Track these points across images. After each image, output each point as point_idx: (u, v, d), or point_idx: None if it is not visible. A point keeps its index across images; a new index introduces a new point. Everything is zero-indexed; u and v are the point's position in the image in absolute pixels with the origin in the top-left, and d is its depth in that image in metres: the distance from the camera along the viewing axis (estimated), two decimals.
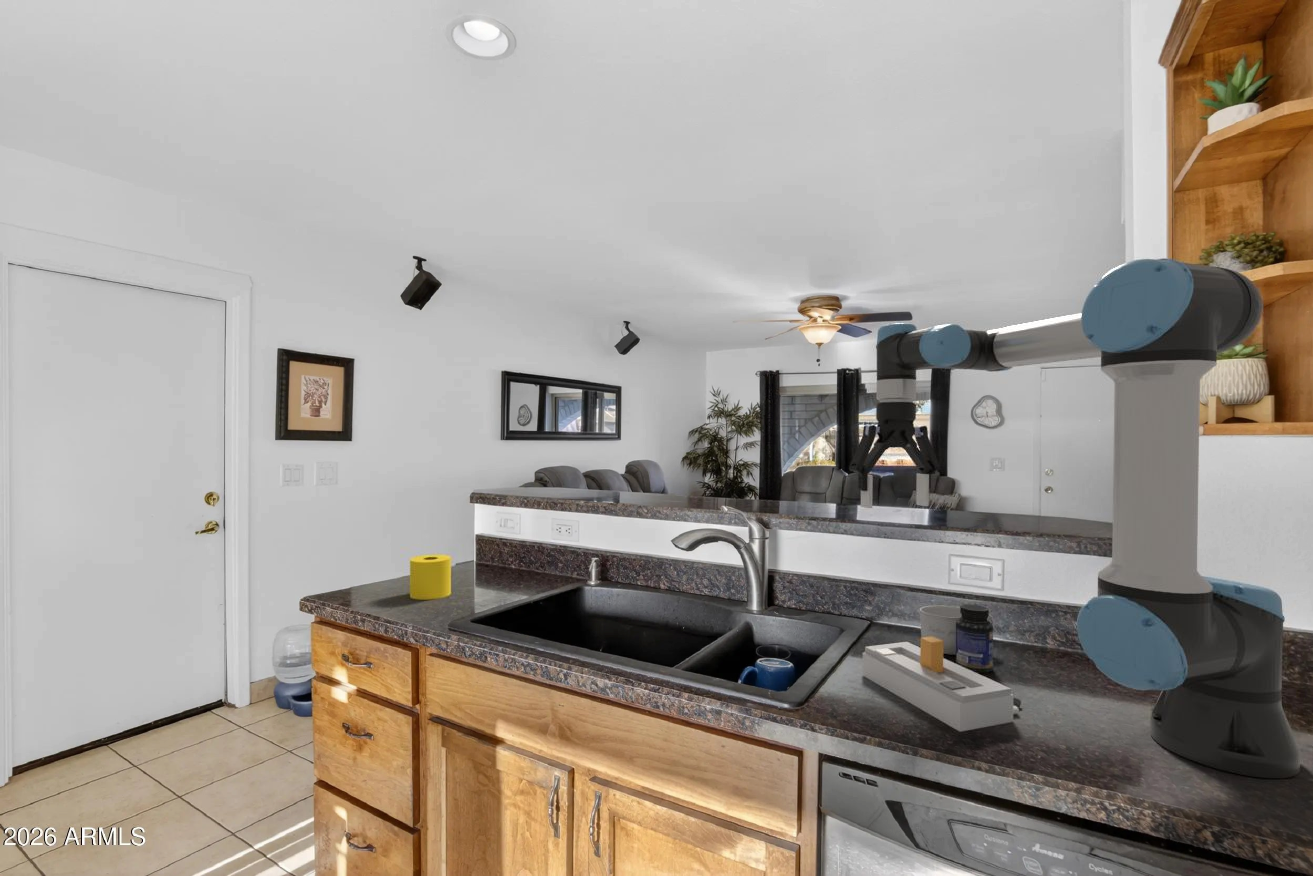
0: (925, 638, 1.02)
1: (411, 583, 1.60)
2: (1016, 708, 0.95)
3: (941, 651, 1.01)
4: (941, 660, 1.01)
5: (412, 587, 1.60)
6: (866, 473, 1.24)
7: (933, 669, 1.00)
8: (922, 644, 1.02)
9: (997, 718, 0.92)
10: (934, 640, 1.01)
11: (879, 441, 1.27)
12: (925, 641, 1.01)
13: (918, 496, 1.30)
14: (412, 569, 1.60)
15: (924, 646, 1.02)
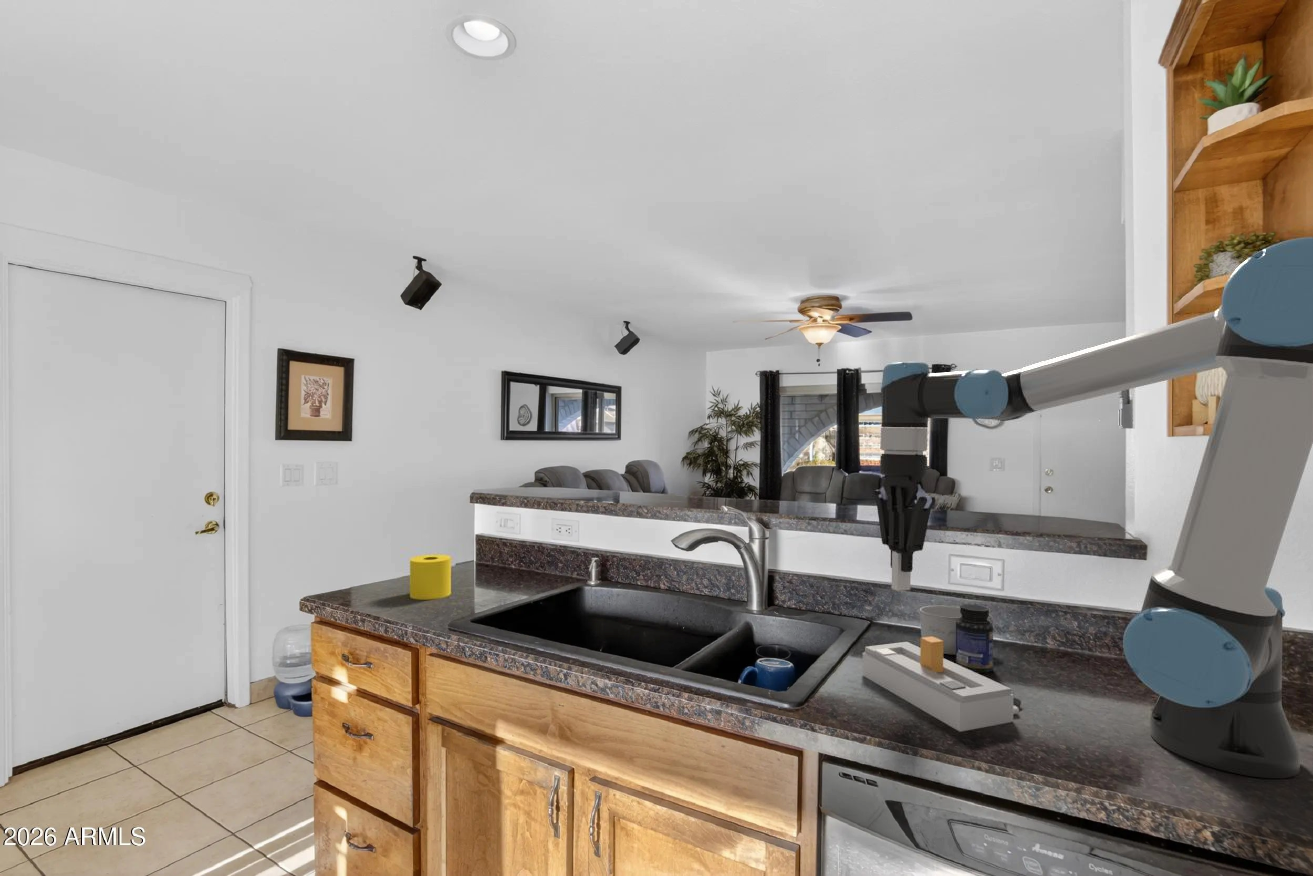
0: (925, 638, 1.02)
1: (411, 583, 1.60)
2: (1016, 708, 0.95)
3: (941, 651, 1.01)
4: (941, 660, 1.01)
5: (412, 587, 1.60)
6: (891, 548, 1.09)
7: (933, 669, 1.00)
8: (922, 644, 1.02)
9: (997, 718, 0.92)
10: (934, 640, 1.01)
11: None
12: (925, 641, 1.01)
13: None
14: (412, 569, 1.60)
15: (924, 646, 1.02)
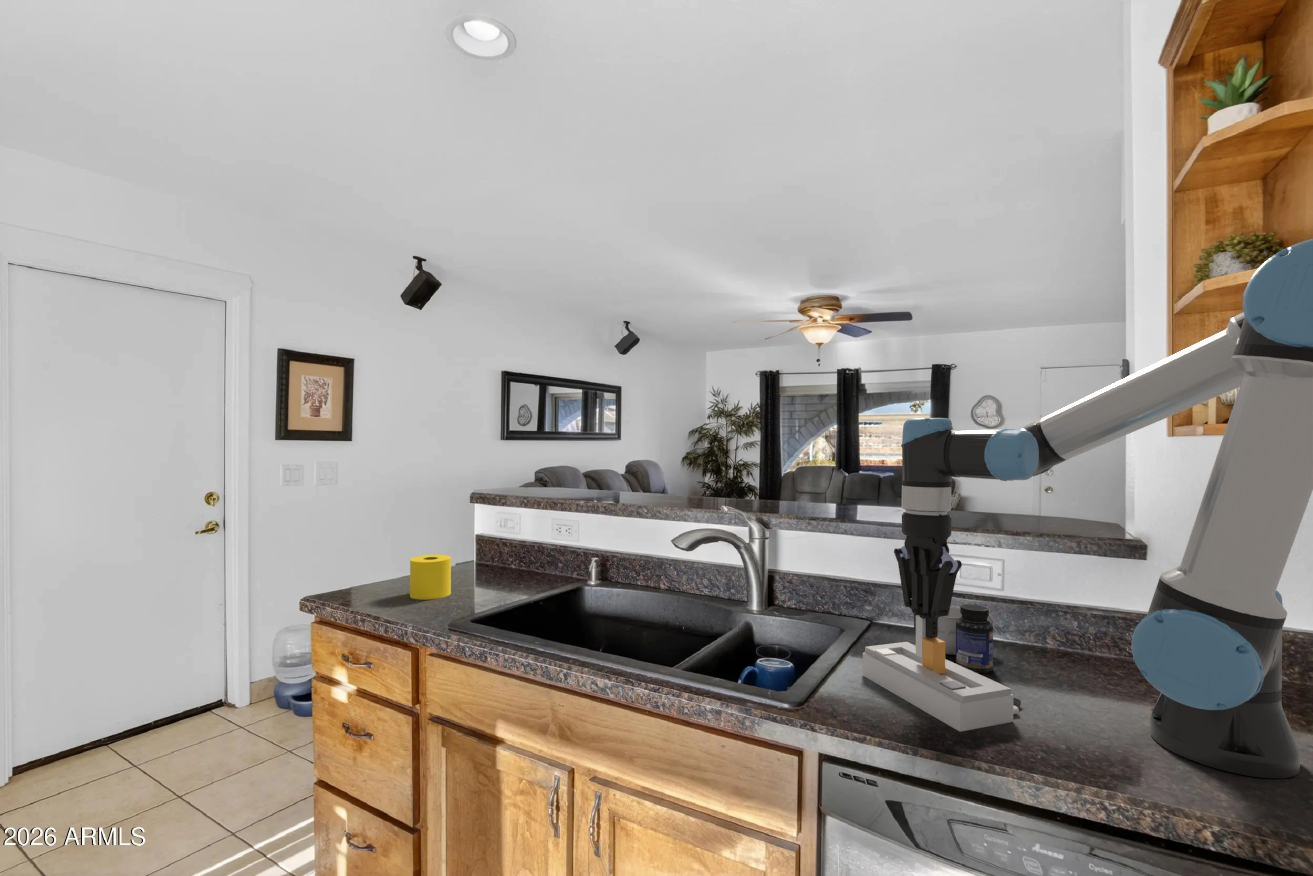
0: (927, 639, 1.02)
1: (411, 583, 1.60)
2: (1016, 708, 0.95)
3: (943, 652, 1.01)
4: (943, 661, 1.01)
5: (412, 587, 1.60)
6: (914, 612, 1.04)
7: (935, 670, 1.00)
8: (924, 645, 1.02)
9: (997, 718, 0.92)
10: (936, 641, 1.01)
11: None
12: (927, 642, 1.01)
13: None
14: (412, 569, 1.60)
15: (926, 647, 1.01)
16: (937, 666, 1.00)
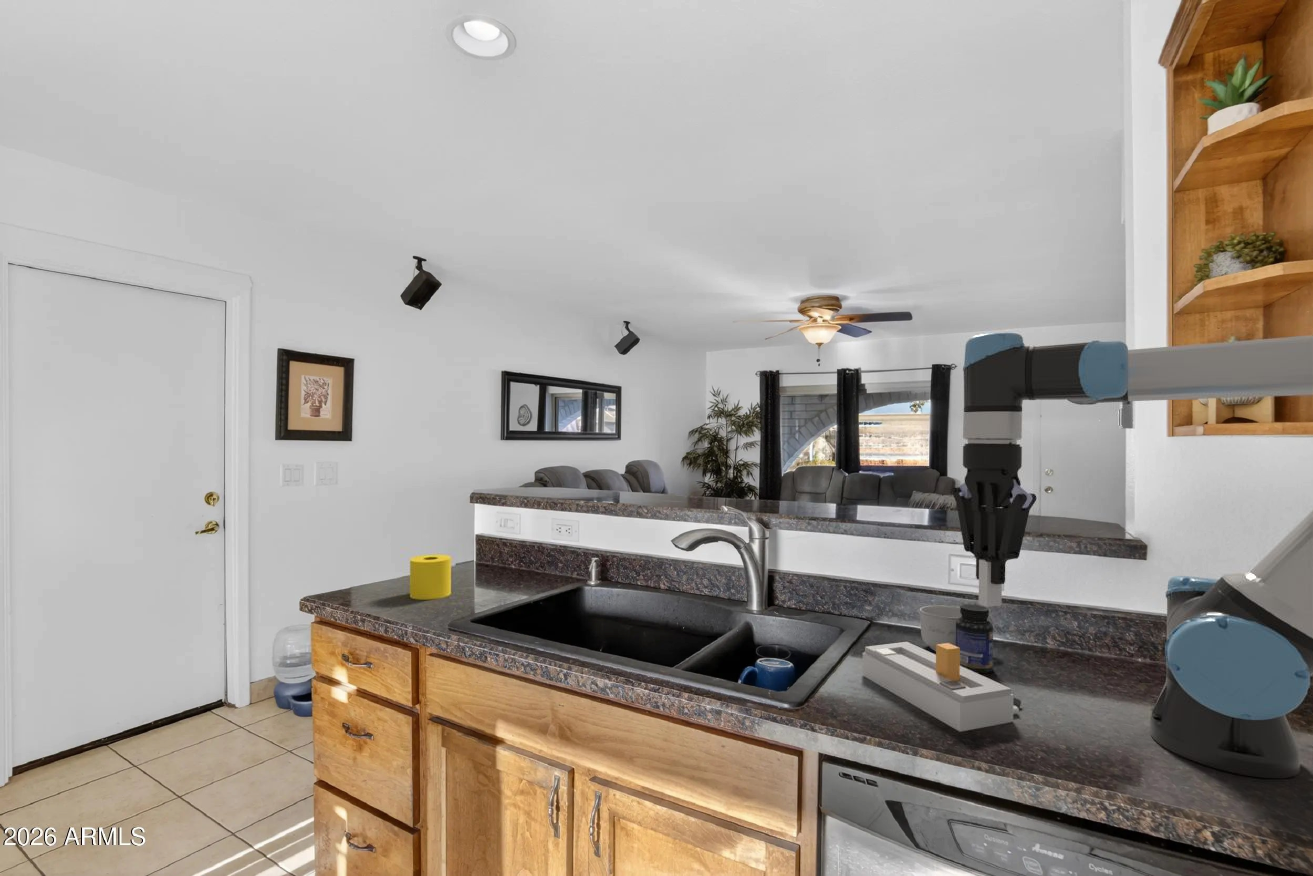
0: (941, 645, 0.99)
1: (411, 583, 1.60)
2: (1016, 708, 0.95)
3: (957, 658, 0.98)
4: (957, 668, 0.98)
5: (412, 587, 1.60)
6: (977, 556, 0.92)
7: (949, 677, 0.97)
8: (938, 651, 0.99)
9: (997, 718, 0.92)
10: (950, 646, 0.98)
11: None
12: (941, 648, 0.98)
13: None
14: (412, 569, 1.60)
15: (940, 653, 0.98)
16: (951, 673, 0.97)
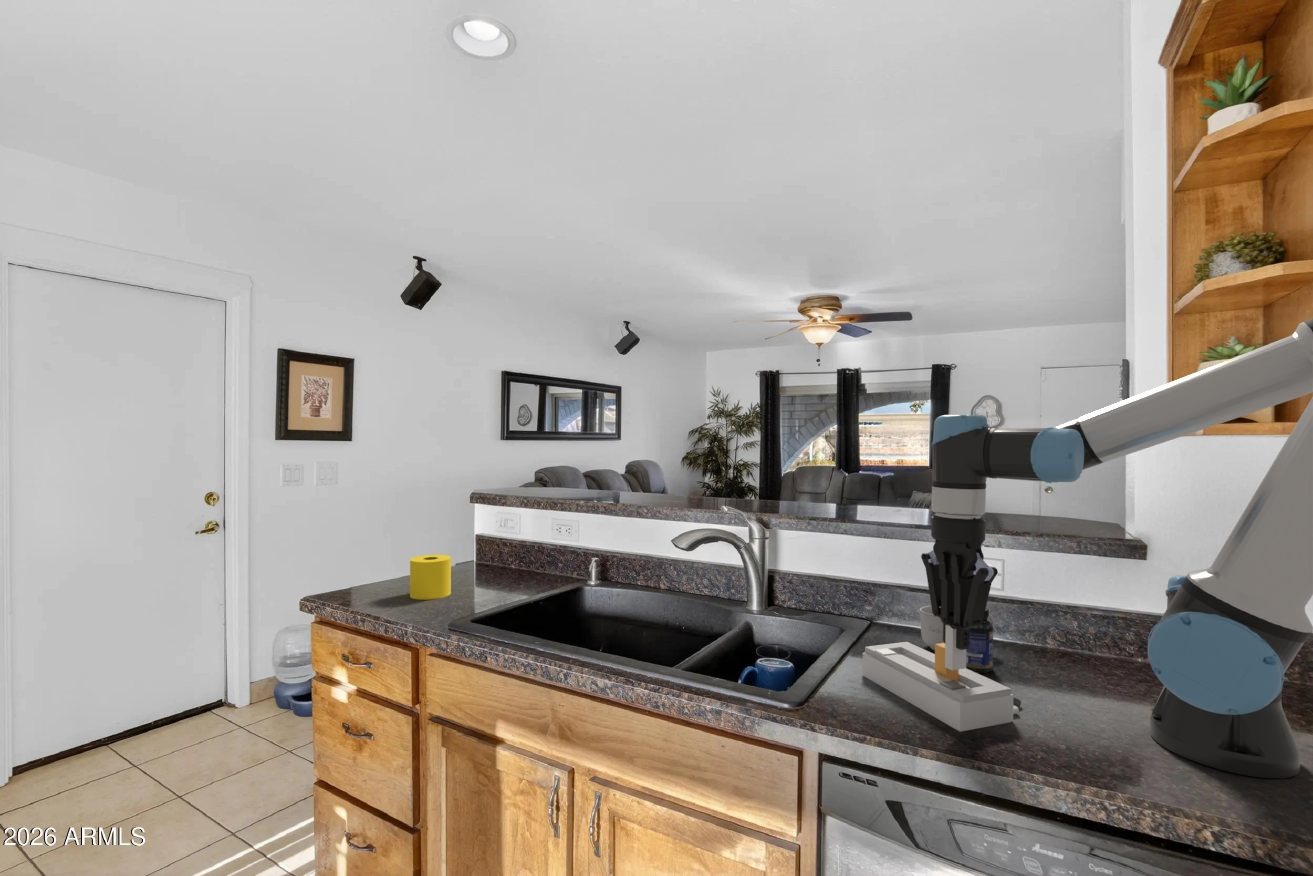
0: (940, 644, 0.99)
1: (411, 583, 1.60)
2: (1016, 708, 0.95)
3: None
4: None
5: (412, 587, 1.60)
6: (944, 621, 0.98)
7: (948, 676, 0.97)
8: (937, 650, 0.99)
9: (997, 718, 0.92)
10: None
11: None
12: (940, 647, 0.98)
13: None
14: (412, 569, 1.60)
15: (939, 653, 0.99)
16: (950, 672, 0.98)
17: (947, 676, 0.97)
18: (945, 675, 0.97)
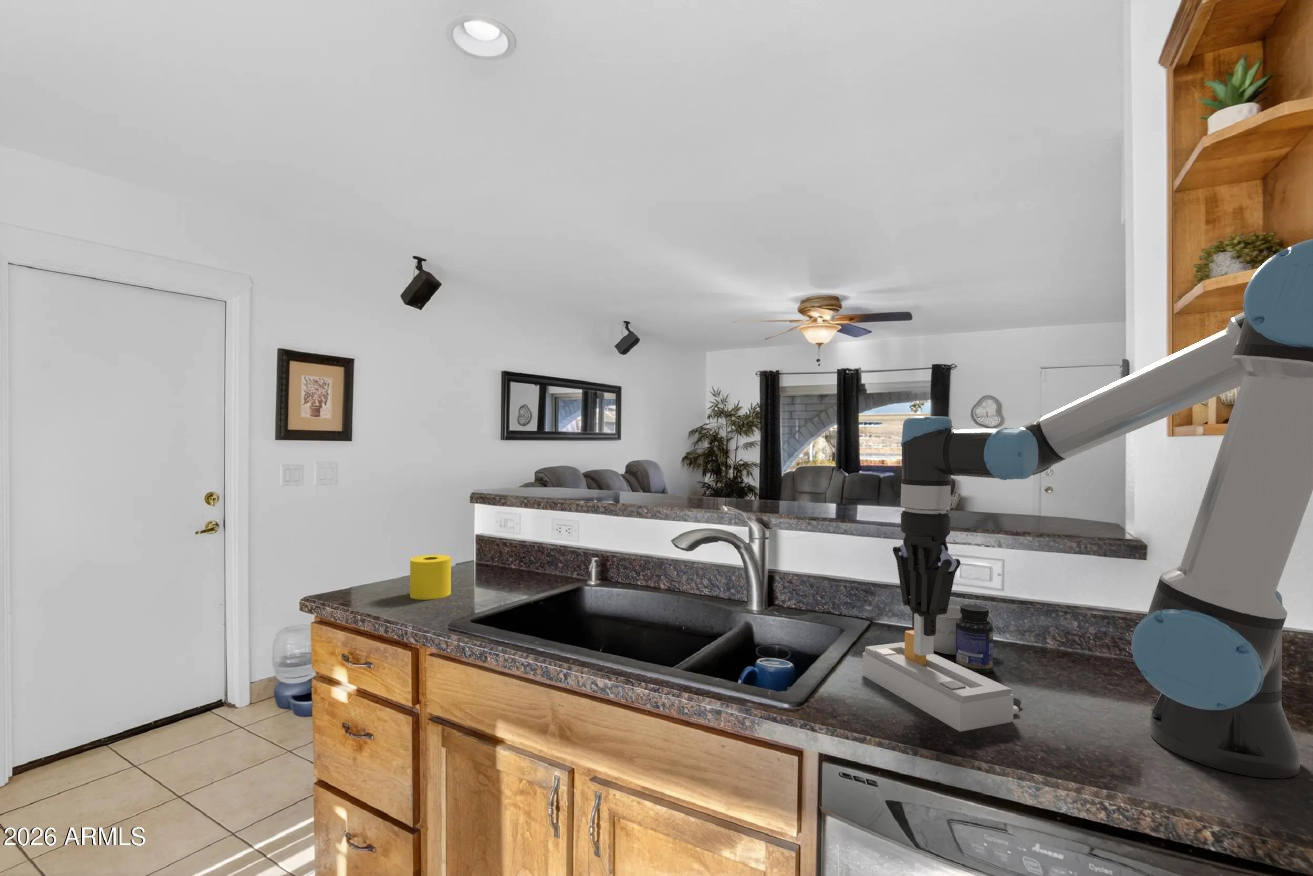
0: (909, 631, 1.06)
1: (411, 583, 1.60)
2: (1016, 708, 0.95)
3: None
4: None
5: (412, 587, 1.60)
6: (913, 610, 1.04)
7: (916, 661, 1.04)
8: (906, 637, 1.06)
9: (997, 718, 0.92)
10: None
11: None
12: (909, 634, 1.05)
13: None
14: (412, 569, 1.60)
15: (908, 639, 1.05)
16: (918, 657, 1.04)
17: (915, 661, 1.04)
18: (914, 660, 1.04)
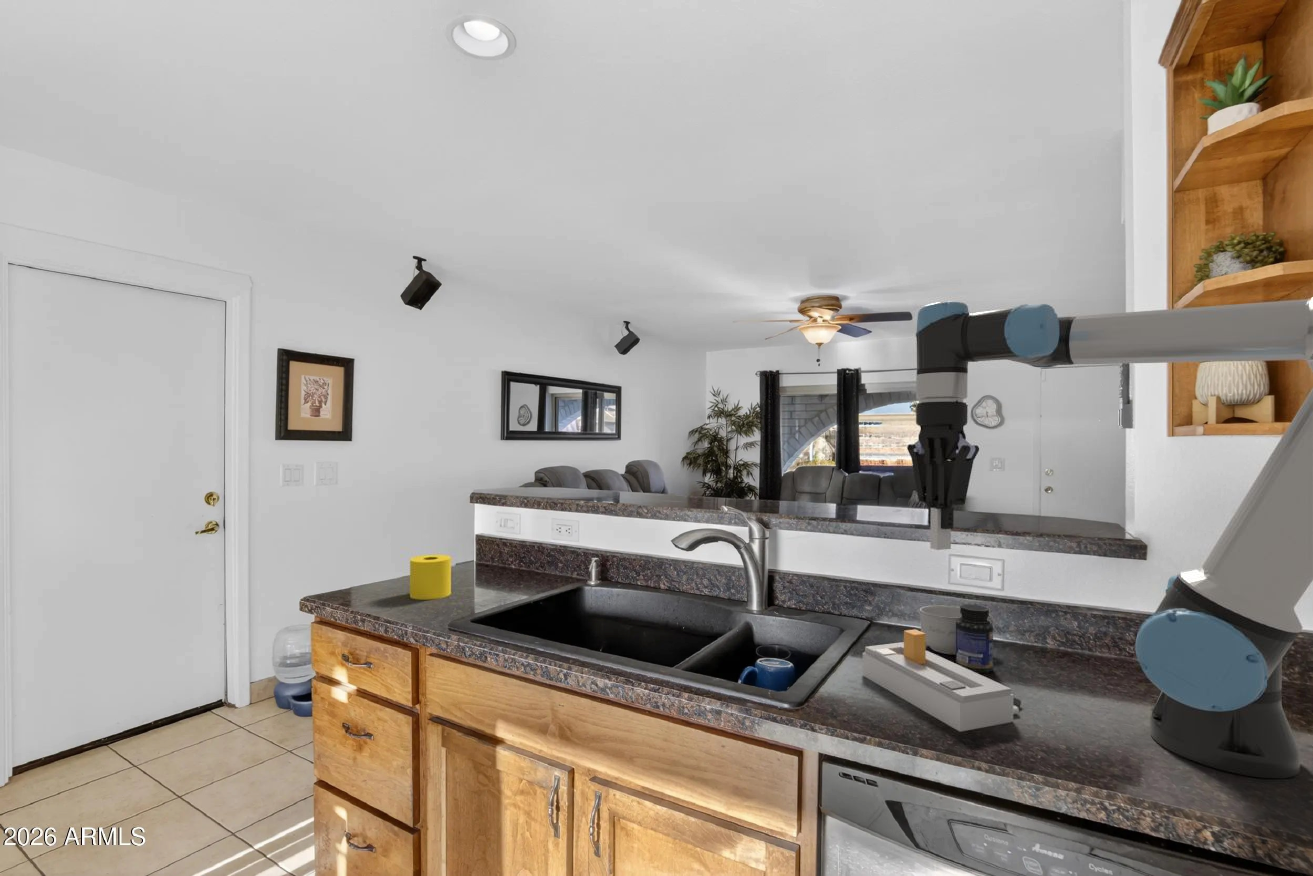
0: (908, 631, 1.06)
1: (411, 583, 1.60)
2: (1016, 708, 0.95)
3: (923, 643, 1.05)
4: (923, 652, 1.05)
5: (412, 587, 1.60)
6: (929, 505, 1.01)
7: (916, 661, 1.04)
8: (905, 637, 1.06)
9: (997, 718, 0.92)
10: (917, 632, 1.05)
11: None
12: (908, 634, 1.05)
13: None
14: (412, 569, 1.60)
15: (907, 639, 1.05)
16: (917, 657, 1.04)
17: (914, 660, 1.04)
18: (913, 659, 1.04)
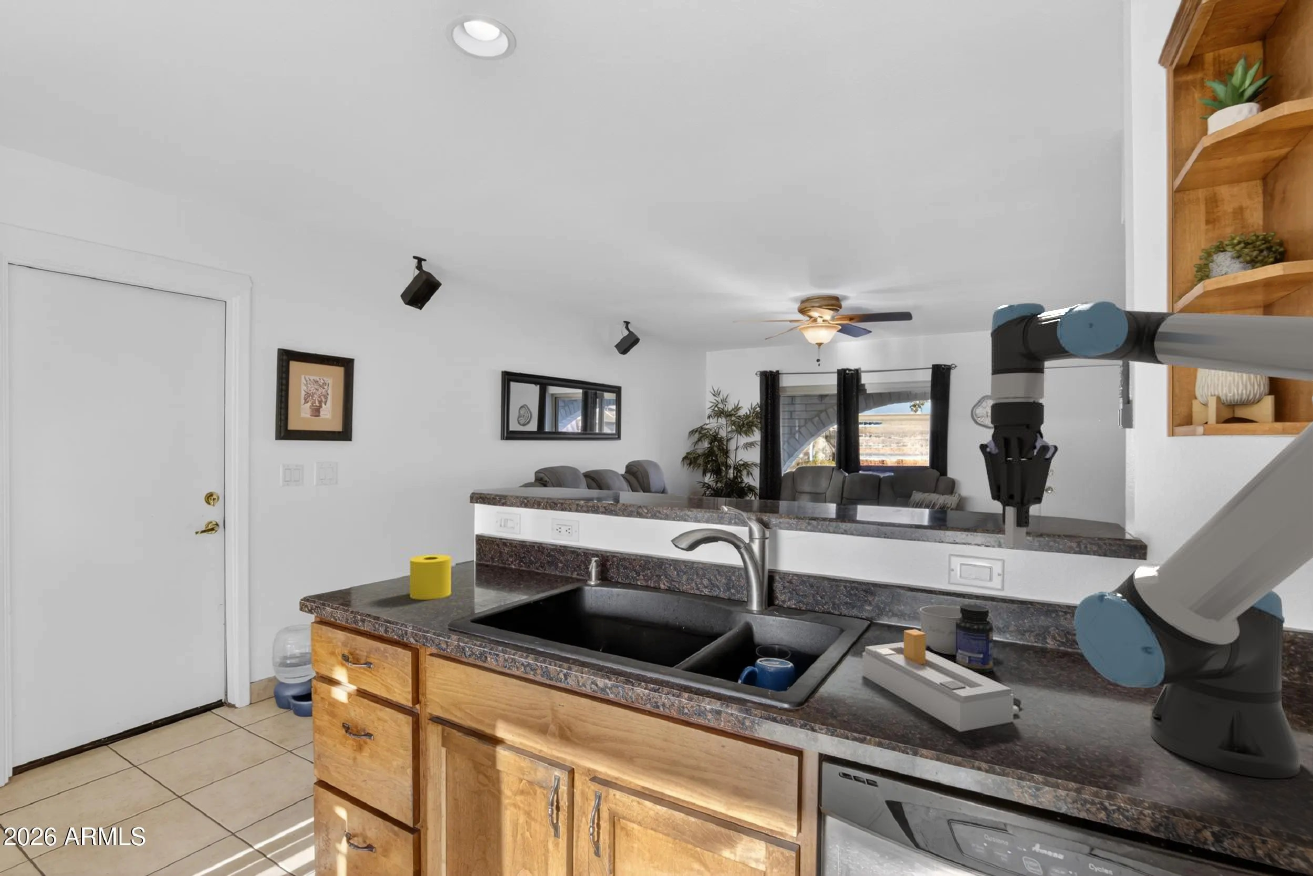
0: (908, 631, 1.06)
1: (411, 583, 1.60)
2: (1016, 708, 0.95)
3: (923, 643, 1.05)
4: (923, 652, 1.05)
5: (412, 587, 1.60)
6: (1004, 503, 1.03)
7: (916, 661, 1.04)
8: (905, 637, 1.06)
9: (997, 718, 0.92)
10: (917, 632, 1.05)
11: None
12: (908, 634, 1.05)
13: None
14: (412, 569, 1.60)
15: (907, 639, 1.05)
16: (917, 657, 1.04)
17: (914, 660, 1.04)
18: (913, 659, 1.04)
